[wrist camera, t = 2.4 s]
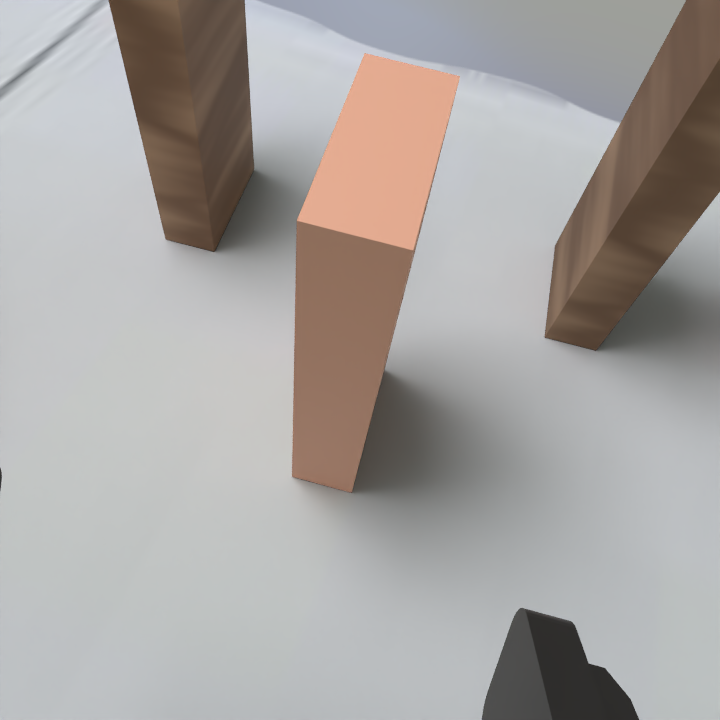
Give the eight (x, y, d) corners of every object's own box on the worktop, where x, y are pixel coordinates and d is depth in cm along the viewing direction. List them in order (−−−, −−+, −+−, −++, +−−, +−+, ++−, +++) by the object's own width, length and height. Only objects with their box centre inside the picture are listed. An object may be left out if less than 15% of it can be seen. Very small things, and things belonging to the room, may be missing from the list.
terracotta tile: (384, 369, 29) (460, 76, 17) (351, 492, 26) (413, 250, 13) (330, 355, 29) (364, 53, 17) (292, 476, 26) (297, 220, 14)
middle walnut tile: (601, 257, 34) (791, -39, 21) (595, 350, 31) (813, 71, 18) (555, 245, 34) (716, -56, 21) (544, 337, 31) (725, 50, 18)
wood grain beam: (254, 169, 35) (235, -167, 22) (214, 251, 32) (165, -83, 19) (209, 158, 35) (164, -183, 22) (165, 239, 32) (84, -102, 19)
